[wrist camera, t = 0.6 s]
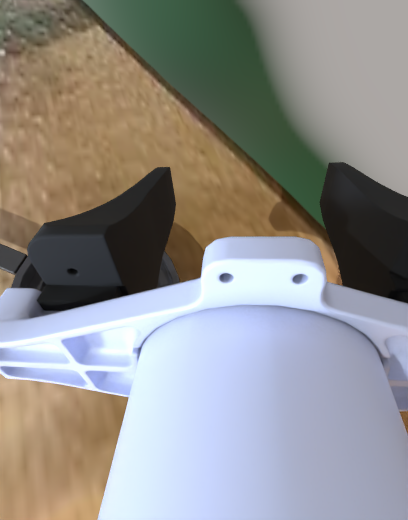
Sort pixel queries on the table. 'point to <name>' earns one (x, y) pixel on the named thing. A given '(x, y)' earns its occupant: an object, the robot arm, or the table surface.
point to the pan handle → (11, 259)
